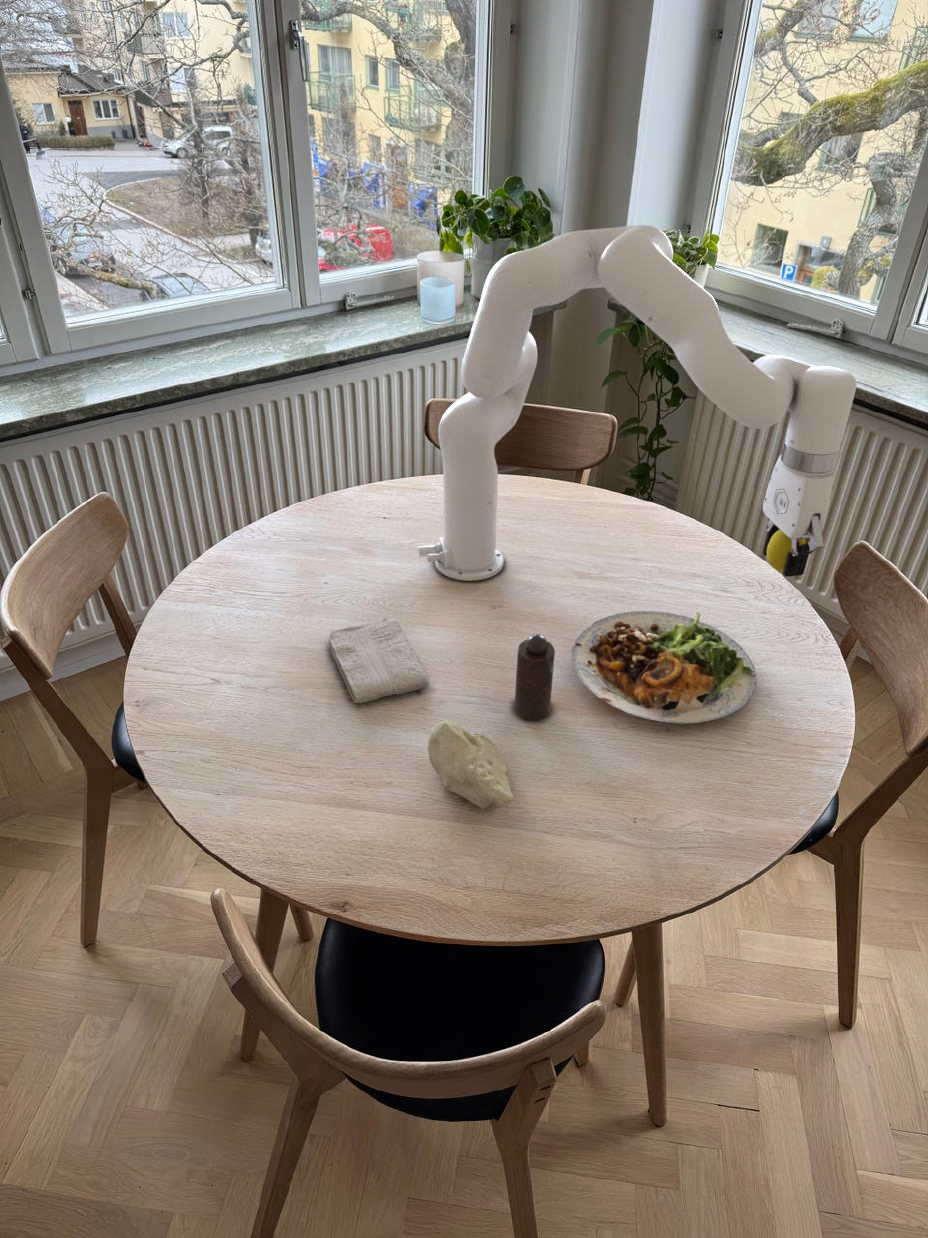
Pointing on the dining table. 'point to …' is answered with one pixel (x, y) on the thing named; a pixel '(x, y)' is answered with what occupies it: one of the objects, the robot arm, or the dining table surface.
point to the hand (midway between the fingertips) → (782, 563)
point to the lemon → (780, 550)
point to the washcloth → (376, 660)
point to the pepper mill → (534, 678)
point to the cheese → (469, 764)
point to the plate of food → (664, 667)
